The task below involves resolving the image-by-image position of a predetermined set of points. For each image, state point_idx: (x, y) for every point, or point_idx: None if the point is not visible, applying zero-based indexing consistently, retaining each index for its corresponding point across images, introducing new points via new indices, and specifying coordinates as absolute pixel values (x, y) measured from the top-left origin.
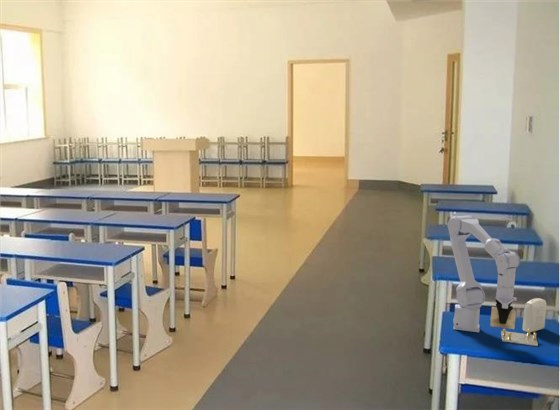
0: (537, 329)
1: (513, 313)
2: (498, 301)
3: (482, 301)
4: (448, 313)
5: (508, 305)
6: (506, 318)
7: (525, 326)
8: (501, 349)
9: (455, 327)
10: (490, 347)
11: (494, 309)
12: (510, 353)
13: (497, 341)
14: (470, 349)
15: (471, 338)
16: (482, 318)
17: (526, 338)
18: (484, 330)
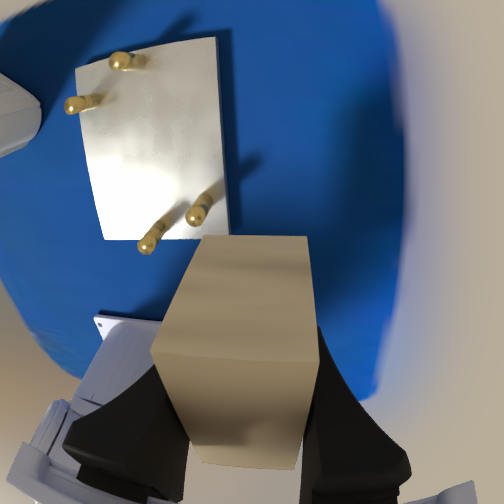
0: (9, 81)
1: (316, 374)
2: (177, 494)
3: (68, 419)
4: (68, 372)
5: (155, 433)
6: (331, 368)
7: (21, 135)
8: (354, 241)
9: None
10: (341, 287)
11: (266, 463)
12: (397, 202)
13: None
14: (379, 348)
15: None
16: (26, 292)
17: (144, 105)
18: (128, 299)
